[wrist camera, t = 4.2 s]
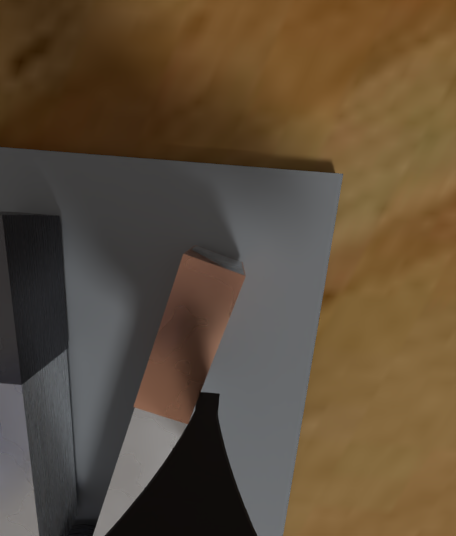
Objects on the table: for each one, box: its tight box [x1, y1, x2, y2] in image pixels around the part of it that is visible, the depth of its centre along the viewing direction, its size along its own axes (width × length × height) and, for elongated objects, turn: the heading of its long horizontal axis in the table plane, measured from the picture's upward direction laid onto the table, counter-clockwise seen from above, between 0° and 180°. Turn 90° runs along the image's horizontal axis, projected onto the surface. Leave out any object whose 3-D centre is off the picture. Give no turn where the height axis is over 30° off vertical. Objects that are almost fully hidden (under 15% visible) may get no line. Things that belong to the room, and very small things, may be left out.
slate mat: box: [0, 147, 343, 536], centre depth 12 cm, size 24×15×1 cm, turn 176°
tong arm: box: [67, 245, 246, 536], centre depth 10 cm, size 20×4×3 cm, turn 160°
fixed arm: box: [0, 211, 78, 536], centre depth 10 cm, size 16×2×2 cm, turn 176°
